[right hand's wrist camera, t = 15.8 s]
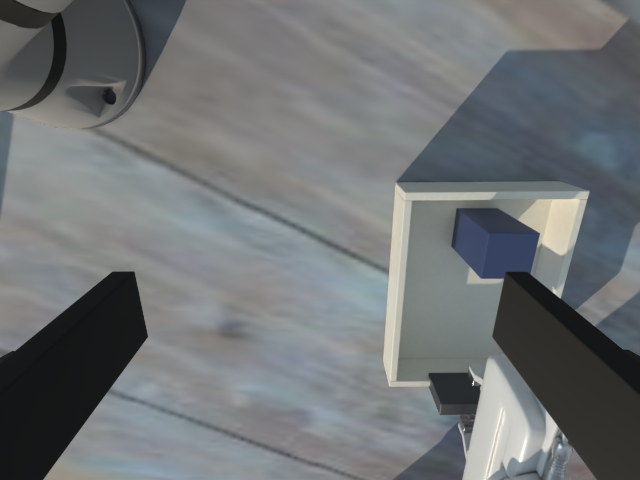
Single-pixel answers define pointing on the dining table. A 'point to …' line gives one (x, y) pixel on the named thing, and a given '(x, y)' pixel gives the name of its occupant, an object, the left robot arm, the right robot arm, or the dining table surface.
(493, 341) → the drawer
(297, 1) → the dining table surface
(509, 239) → the pillar
